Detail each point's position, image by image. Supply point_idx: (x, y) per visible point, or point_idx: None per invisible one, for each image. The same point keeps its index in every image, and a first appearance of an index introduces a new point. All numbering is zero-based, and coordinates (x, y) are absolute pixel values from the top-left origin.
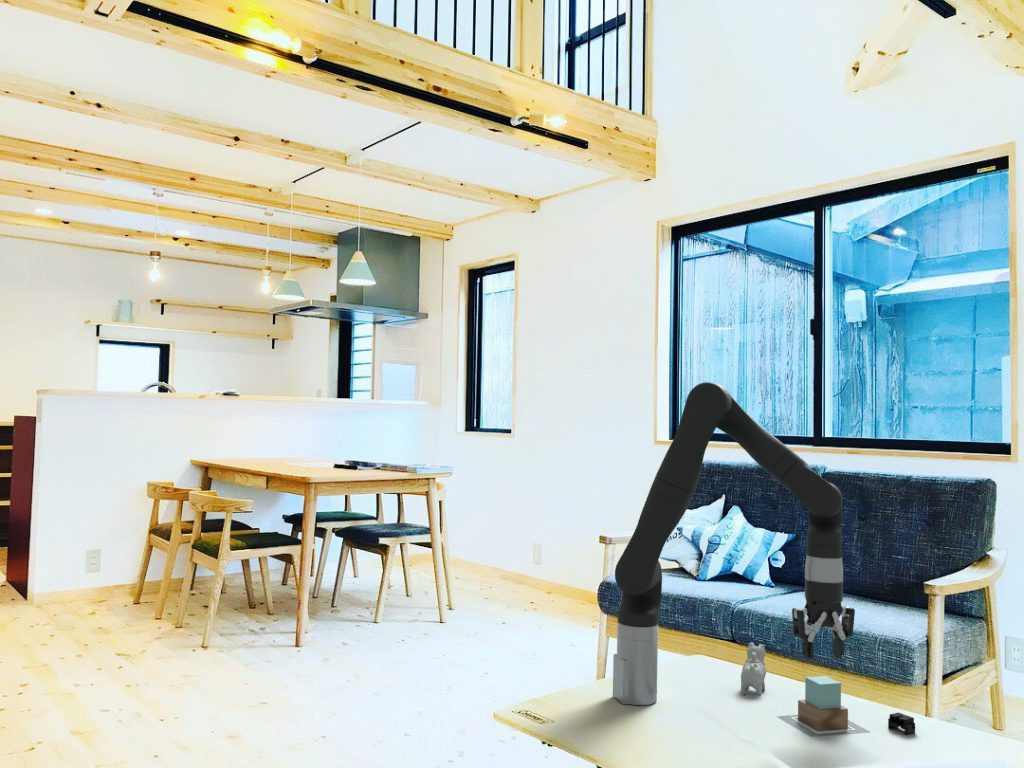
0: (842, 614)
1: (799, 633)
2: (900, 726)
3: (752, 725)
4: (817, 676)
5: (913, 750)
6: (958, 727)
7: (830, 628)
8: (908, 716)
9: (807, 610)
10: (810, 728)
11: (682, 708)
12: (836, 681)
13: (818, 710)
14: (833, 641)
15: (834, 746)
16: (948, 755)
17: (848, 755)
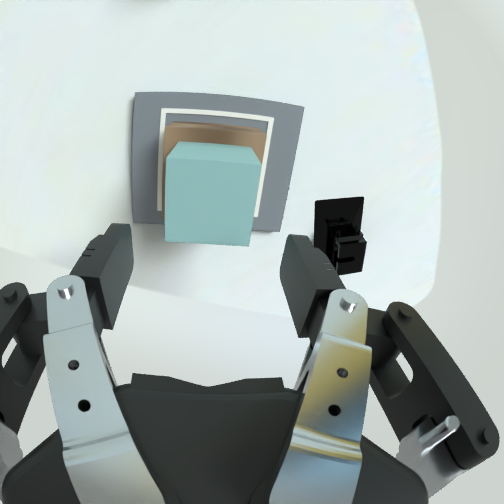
0: (411, 449)
1: (15, 352)
2: (331, 259)
3: (72, 110)
4: (222, 161)
5: None
6: (438, 237)
7: (315, 345)
8: (361, 263)
9: (29, 500)
10: (159, 184)
11: (15, 15)
12: (247, 229)
13: (164, 215)
14: (309, 281)
15: (168, 245)
16: None
17: (166, 280)
